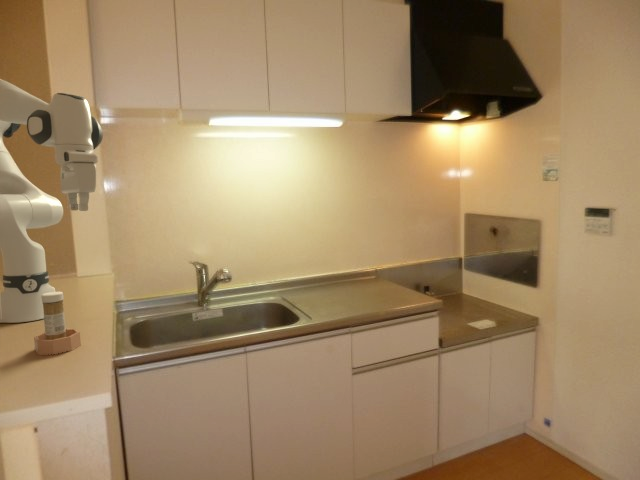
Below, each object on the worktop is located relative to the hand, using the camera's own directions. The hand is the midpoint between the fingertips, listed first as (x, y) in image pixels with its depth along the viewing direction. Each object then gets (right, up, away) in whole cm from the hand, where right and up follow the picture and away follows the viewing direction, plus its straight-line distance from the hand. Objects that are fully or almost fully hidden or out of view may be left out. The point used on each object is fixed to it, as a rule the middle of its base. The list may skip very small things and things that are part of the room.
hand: (78, 210), depth 113 cm
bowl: (-2, -35, -6) cm, 35 cm away
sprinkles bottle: (-2, -35, -6) cm, 35 cm away
